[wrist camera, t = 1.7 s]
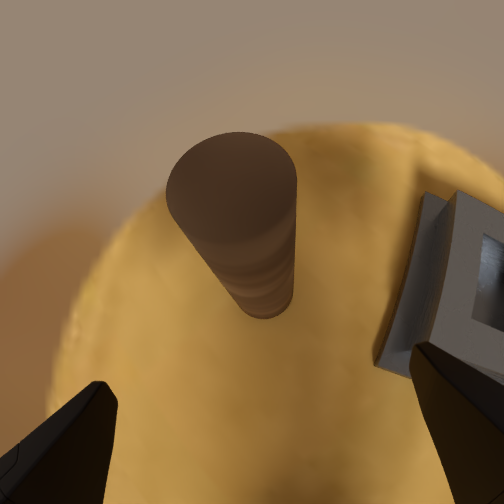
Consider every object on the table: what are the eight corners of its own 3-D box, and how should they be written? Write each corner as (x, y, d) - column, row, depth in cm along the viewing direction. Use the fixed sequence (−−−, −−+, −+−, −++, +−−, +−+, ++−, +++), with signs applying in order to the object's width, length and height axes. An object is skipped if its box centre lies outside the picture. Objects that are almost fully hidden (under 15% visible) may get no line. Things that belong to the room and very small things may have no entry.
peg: (278, 328, 20) (262, 263, 8) (225, 304, 21) (143, 214, 9) (302, 275, 21) (315, 150, 9) (250, 254, 22) (205, 122, 10)
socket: (511, 409, 15) (545, 410, 10) (373, 365, 18) (395, 364, 14) (536, 257, 19) (564, 238, 14) (421, 197, 22) (441, 165, 18)
